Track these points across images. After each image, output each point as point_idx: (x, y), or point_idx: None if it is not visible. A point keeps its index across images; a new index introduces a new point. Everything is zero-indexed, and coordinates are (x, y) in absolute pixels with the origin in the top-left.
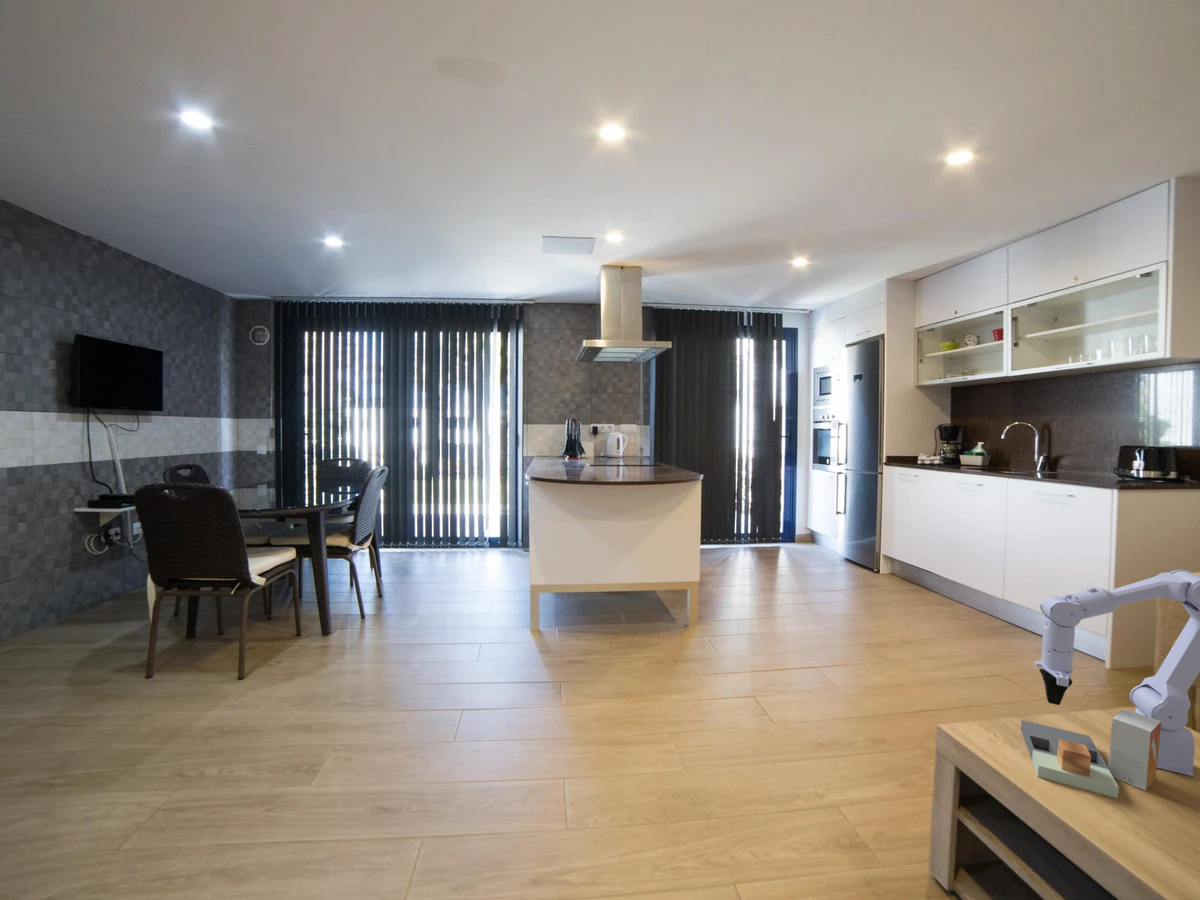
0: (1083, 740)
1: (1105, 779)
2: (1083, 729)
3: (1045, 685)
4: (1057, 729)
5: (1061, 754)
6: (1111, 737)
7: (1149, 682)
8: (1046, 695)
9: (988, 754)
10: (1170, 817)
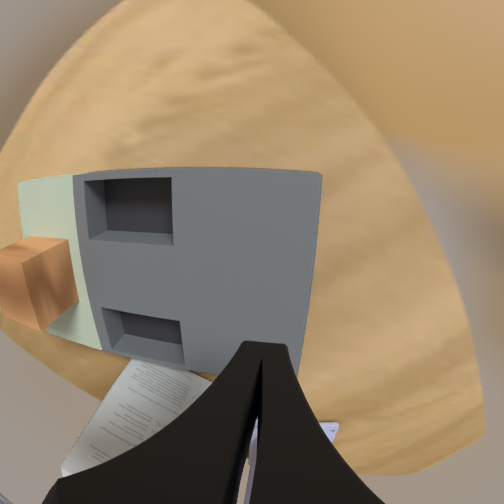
0: None
1: (54, 320)
2: (400, 367)
3: (263, 431)
4: (297, 303)
5: (14, 248)
6: (90, 419)
7: None
8: (276, 362)
9: (77, 67)
10: (73, 371)
